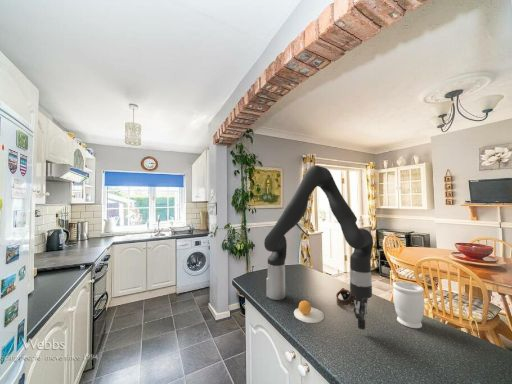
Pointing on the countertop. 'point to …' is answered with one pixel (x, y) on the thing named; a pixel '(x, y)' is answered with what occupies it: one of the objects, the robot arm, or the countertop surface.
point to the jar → (408, 303)
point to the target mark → (309, 316)
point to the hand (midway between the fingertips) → (361, 328)
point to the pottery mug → (345, 297)
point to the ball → (304, 307)
